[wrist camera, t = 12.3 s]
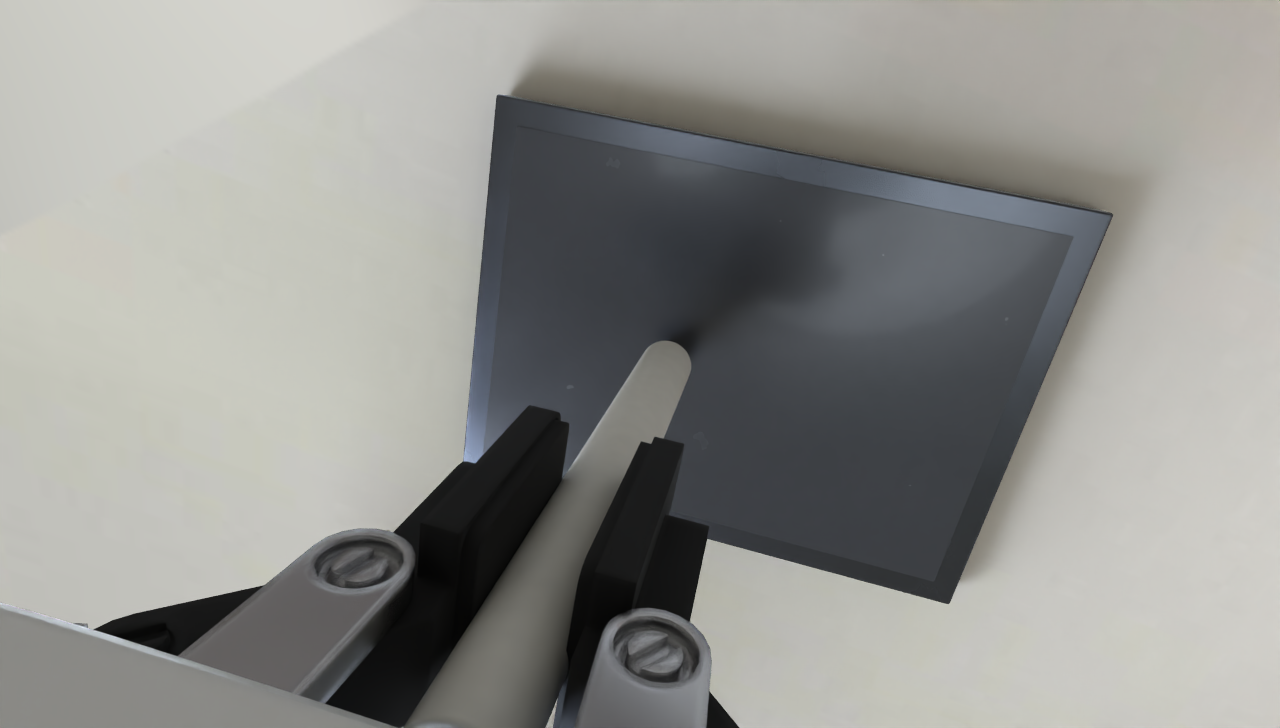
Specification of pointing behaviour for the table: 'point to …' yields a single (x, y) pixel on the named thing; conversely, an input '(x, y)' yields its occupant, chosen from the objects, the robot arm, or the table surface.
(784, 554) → the tablet
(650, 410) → the stylus
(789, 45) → the table surface
